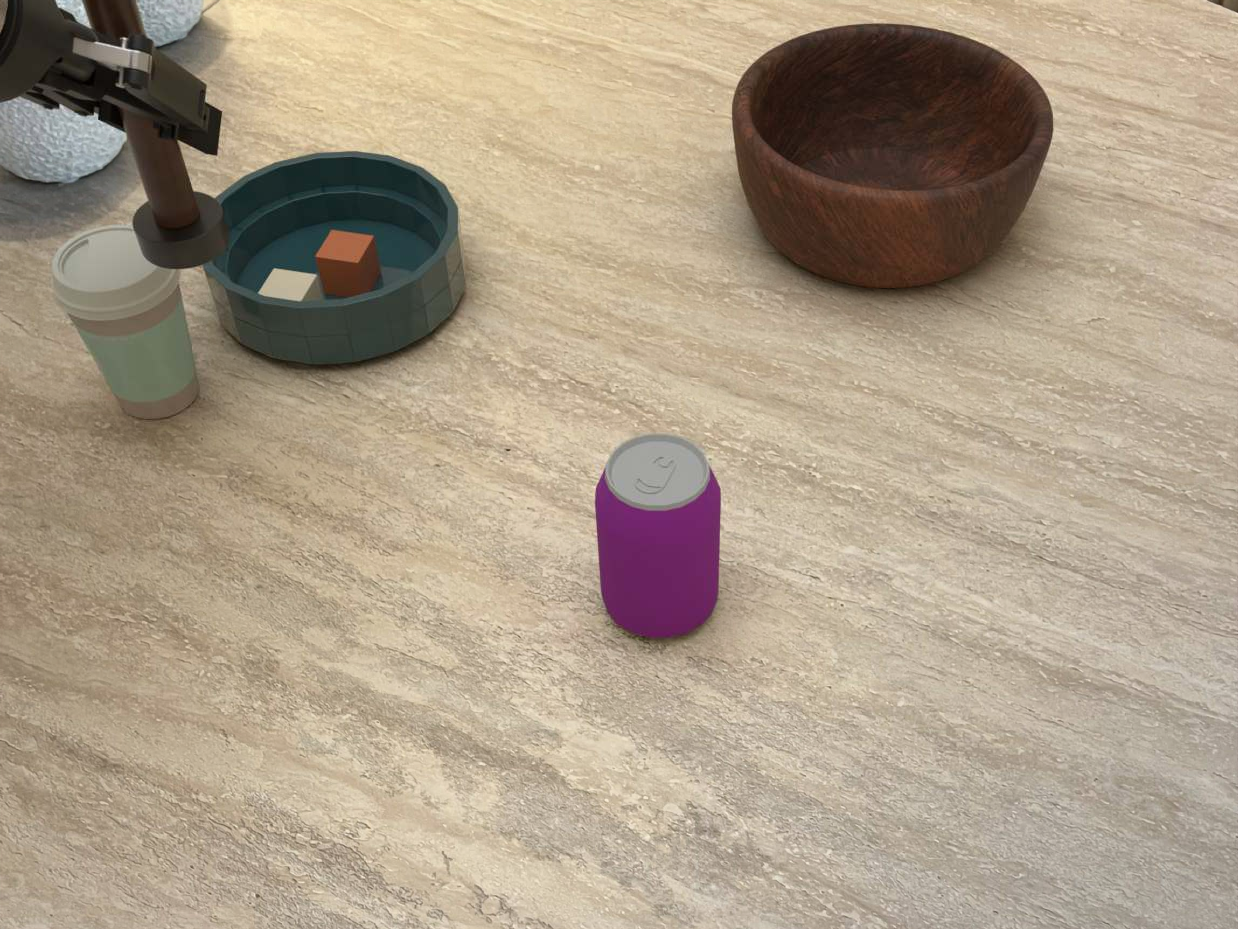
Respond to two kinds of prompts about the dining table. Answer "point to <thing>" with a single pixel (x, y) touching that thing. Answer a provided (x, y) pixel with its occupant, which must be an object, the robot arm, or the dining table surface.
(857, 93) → the wooden bowl
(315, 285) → the cream block
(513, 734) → the dining table surface
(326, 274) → the terracotta block
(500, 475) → the dining table surface
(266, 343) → the stir bowl
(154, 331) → the coffee cup
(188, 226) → the muddler
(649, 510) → the beverage can
